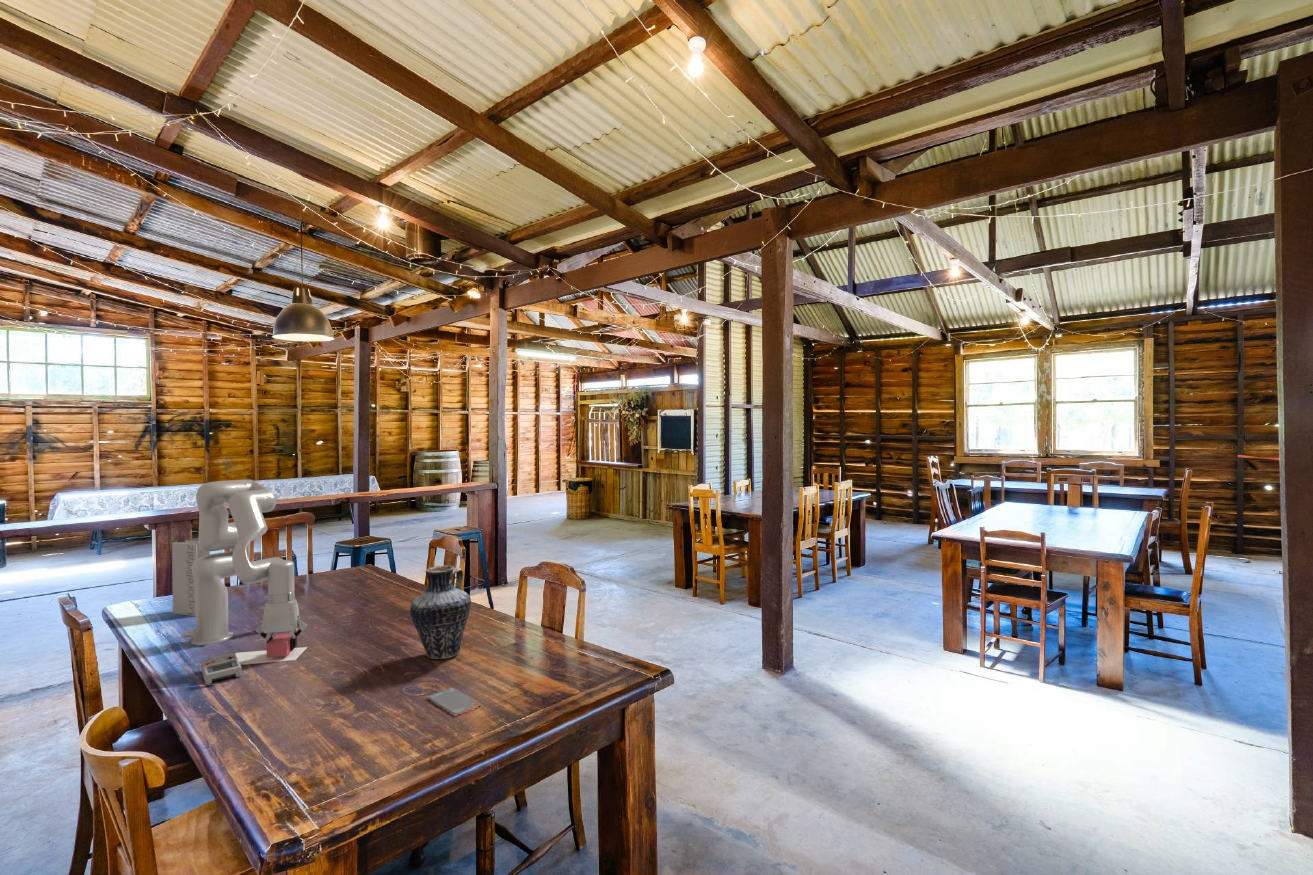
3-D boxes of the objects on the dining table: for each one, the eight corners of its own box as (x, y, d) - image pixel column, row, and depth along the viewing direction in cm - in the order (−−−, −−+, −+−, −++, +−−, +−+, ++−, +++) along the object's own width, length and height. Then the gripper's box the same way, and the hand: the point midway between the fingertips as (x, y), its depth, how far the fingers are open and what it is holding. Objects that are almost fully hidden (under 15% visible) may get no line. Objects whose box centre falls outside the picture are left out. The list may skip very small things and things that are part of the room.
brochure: (172, 613, 246) (172, 542, 246) (186, 609, 252) (185, 540, 251) (197, 616, 242) (196, 544, 242) (210, 612, 247) (209, 542, 247)
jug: (451, 668, 187) (450, 576, 187) (398, 664, 191) (397, 573, 191) (483, 645, 208) (482, 562, 207) (434, 641, 212) (433, 559, 211)
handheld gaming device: (235, 662, 191) (234, 651, 191) (242, 677, 181) (241, 665, 180) (201, 671, 185) (200, 659, 185) (206, 687, 174) (205, 674, 174)
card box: (277, 647, 202) (277, 634, 202) (296, 646, 203) (296, 633, 203) (266, 657, 193) (266, 643, 193) (286, 655, 195) (286, 642, 195)
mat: (219, 667, 189) (219, 666, 189) (236, 654, 200) (236, 652, 200) (295, 661, 194) (295, 659, 194) (307, 648, 206) (307, 646, 206)
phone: (453, 691, 172) (453, 686, 172) (482, 708, 162) (482, 703, 162) (426, 700, 166) (426, 696, 166) (455, 718, 156) (455, 714, 156)
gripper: (247, 602, 192) (248, 656, 193) (305, 598, 197) (306, 651, 197) (257, 596, 200) (257, 648, 200) (313, 592, 204) (313, 643, 204)
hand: (281, 649), depth 198 cm, fingers closed on card box, 5 cm apart
